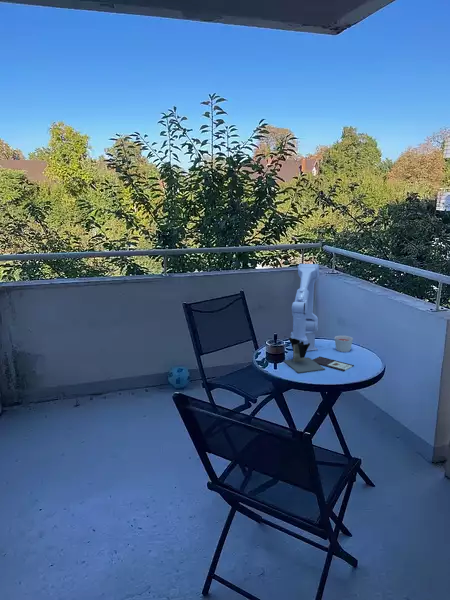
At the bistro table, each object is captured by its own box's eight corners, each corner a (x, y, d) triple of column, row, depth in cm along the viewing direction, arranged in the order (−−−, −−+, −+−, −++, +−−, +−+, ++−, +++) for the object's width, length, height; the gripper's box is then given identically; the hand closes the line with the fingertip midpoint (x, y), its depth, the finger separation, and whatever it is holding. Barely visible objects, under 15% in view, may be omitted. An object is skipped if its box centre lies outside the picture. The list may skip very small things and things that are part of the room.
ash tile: (293, 360, 196) (293, 344, 195) (302, 359, 198) (303, 343, 196) (294, 362, 195) (295, 345, 193) (304, 360, 196) (304, 344, 194)
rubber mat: (283, 361, 197) (283, 360, 197) (308, 358, 201) (308, 357, 201) (298, 373, 182) (298, 372, 182) (324, 370, 186) (325, 368, 186)
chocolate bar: (319, 356, 202) (353, 365, 190) (319, 358, 202) (353, 367, 190) (309, 361, 196) (343, 370, 183) (309, 362, 196) (343, 372, 184)
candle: (339, 346, 219) (339, 334, 217) (355, 349, 213) (356, 337, 212) (331, 350, 212) (331, 338, 211) (347, 354, 206) (348, 341, 205)
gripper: (285, 323, 199) (284, 351, 201) (298, 331, 185) (297, 360, 188) (298, 322, 201) (298, 349, 203) (312, 330, 187) (312, 359, 190)
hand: (298, 354), depth 196 cm, fingers open, 7 cm apart
